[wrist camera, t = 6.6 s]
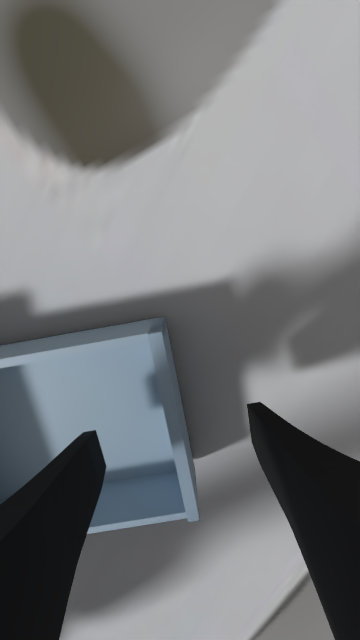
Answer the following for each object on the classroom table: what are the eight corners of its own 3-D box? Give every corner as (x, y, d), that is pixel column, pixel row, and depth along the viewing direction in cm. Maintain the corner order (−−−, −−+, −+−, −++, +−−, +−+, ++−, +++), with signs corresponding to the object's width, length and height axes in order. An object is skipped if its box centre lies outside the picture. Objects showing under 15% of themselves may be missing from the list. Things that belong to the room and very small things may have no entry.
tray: (194, 467, 15) (199, 520, 12) (-63, 510, 15) (-124, 571, 12) (164, 316, 13) (161, 331, 10) (-134, 369, 13) (-229, 400, 10)
